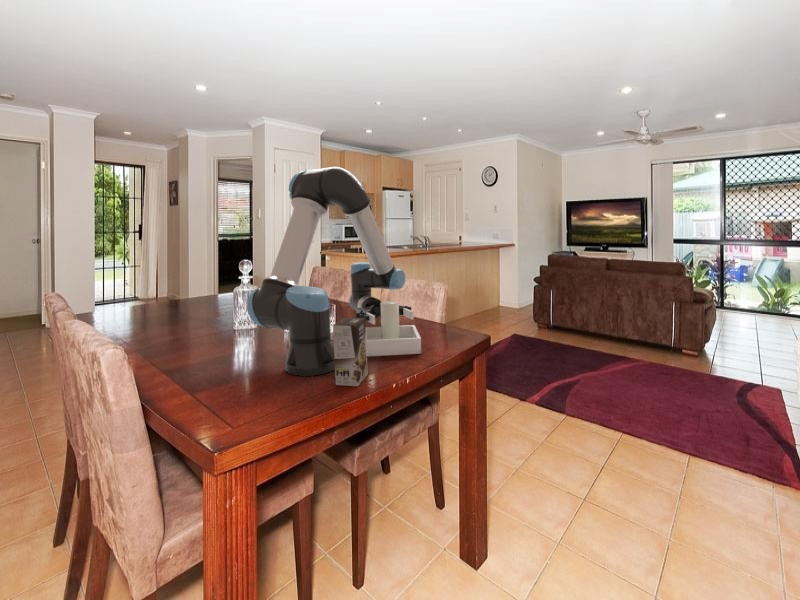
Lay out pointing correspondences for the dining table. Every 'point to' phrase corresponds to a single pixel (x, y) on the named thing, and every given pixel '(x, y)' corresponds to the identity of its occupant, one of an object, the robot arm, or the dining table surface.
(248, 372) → the dining table surface
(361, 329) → the coffee box
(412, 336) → the tote
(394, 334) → the canister
